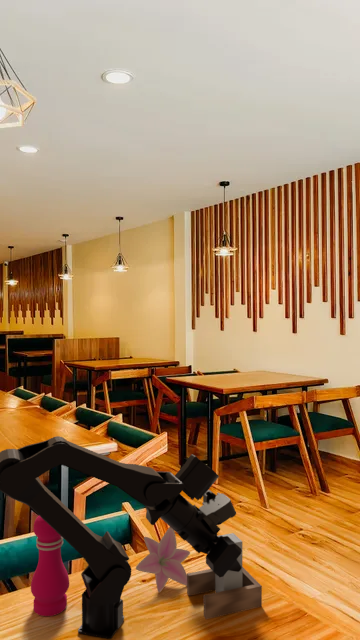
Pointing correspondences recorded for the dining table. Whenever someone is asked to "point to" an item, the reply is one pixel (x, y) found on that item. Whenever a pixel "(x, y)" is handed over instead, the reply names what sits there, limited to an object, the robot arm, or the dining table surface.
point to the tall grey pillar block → (231, 577)
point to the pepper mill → (49, 572)
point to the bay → (224, 594)
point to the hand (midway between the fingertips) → (235, 564)
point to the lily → (164, 560)
